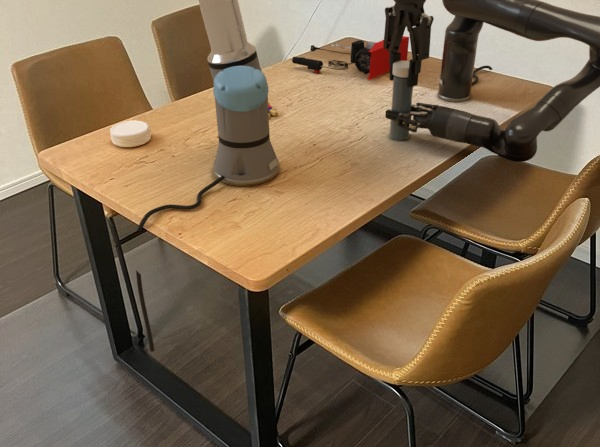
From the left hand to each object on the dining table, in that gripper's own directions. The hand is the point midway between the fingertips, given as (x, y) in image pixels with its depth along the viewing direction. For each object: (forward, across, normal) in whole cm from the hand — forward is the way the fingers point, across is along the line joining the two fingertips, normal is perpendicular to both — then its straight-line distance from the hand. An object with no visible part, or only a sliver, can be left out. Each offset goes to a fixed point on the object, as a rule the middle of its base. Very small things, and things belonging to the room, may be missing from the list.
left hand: (403, 82), depth 153 cm
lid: (-4, 0, 0) cm, 4 cm away
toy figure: (+15, -37, -19) cm, 44 cm away
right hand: (+8, -2, -1) cm, 8 cm away
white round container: (+15, -42, -56) cm, 71 cm away
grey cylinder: (+15, 0, 0) cm, 15 cm away
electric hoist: (+15, -52, +28) cm, 60 cm away
